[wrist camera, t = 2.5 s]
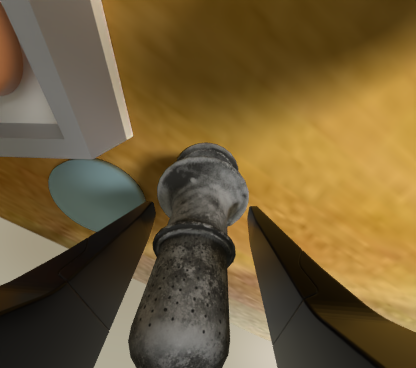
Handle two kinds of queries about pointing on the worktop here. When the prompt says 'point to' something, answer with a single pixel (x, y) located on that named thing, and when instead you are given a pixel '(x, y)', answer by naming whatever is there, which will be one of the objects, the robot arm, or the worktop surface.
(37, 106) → the grey square tray
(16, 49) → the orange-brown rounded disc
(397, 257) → the worktop surface
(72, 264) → the robot arm
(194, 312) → the salt shaker
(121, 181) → the slate coaster
